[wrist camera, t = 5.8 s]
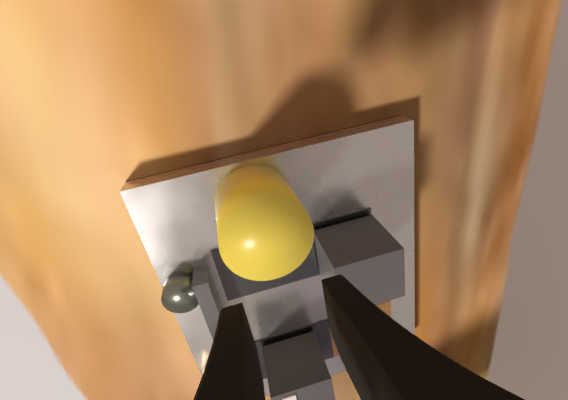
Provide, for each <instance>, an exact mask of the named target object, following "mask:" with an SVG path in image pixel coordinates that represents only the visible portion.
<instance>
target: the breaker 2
mask: <svg viewBox="0 0 568 400" xmlns="http://www.w3.org/2000/svg"><path fill="white" fill-rule="evenodd" d="M314 240H315V246H316V252H317V258H318V264H319V270H320V274H321V276H322V278H323V279H325V278H329V277H332V276H336V275H339V274H341V275H342V276H344V277H345V278H346V279H347V280H348V281H349V282H350V283H351V284H352V285H353V286H355V287H356V288H357V289H358V290H359V291H360V292H361V293H362V294H363V295H365V296H366V297H367V298H368V299H369V300H370V301H371V302H373V303H374V304H375V305H376V304H380V303H383V302H386V301H390V300H393V299H396V298H400V297H403V296H405V261H404V248H403V247H402V246H401V245H400V244H399V242H398V241H397V240H396V239H395V238H394V237H393V236H392V235H391V234H390V233H389V232H388V231H387V230H386V229H385V228H384V227H383V226H382V225H381V224H380V222H379V221H378V220H377V219H376V218H375V217H374V216H373V215H369V216H365V217H362V218H358V219H354V220H351V221H347V222H343V223H340V224H336V225H332V226H329V227H325V228H321V229H318V230H314Z"/></svg>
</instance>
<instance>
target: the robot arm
mask: <svg viewBox="0 0 568 400" xmlns="http://www.w3.org/2000/svg"><path fill="white" fill-rule="evenodd" d="M321 281H322V287H323V293H324V299H325V305H326V311H327V317H328V323H329V328H330V331H331V334H332V336H333V339H334V342H335V344H336V347H337V350H338V352H339V355H340V358H341V360H342V362H343V364H344V366H345V368H346V370H347V372H348V374H349V376H350V378H351V380H352V382H353V384H354V386H355V388H356V390H357V392H358V394H359V396H360V398H361V400H524V399H522V398H520V397H519V396H517V395H515V394H513V393H511V392H509V391H506V390H505V389H503V388H501V387H499V386H497V385H495V384H493V383H491V382H490V381H488V380H486V379H484V378H482V377H480V376H479V375H477V374H475V373H473V372H472V371H470V370H468V369H467V368H465V367H463V366H461V365H460V364H458V363H456V362H455V361H453V360H452V359H450V358H448V357H447V356H445V355H443V354H442V353H440V352H439V351H437V350H436V349H434V348H433V347H431V346H430V345H428V344H427V343H425V342H424V341H422V340H421V339H419V338H418V337H417V336H415V335H414V334H412V333H411V332H410V331H408V330H407V329H406V328H404V327H403V326H402V325H400V324H399V323H398V322H396V321H395V320H394V319H392V318H391V317H390V316H389V315H387V314H386V313H385V312H384V311H382V310H381V309H380V308H379V307H377V306H376V305H375V304H374V303H373V302H371V301H370V300H369V299H368V298H367V297H366V296H365V295H363V294H362V293H361V292H360V291H359V290H358V289H357V288H356V287H355V286H353V285H352V284H351V283H350V282H349V281H348V280H347V279H346V278H345V277H344V276H342V275H341V274H339V275H336V276H332V277H329V278H325V279H322V280H321ZM194 400H265V392H264V382H263V377H262V372H261V367H260V362H259V357H258V351H257V347H256V344H255V341H254V338H253V335H252V332H251V329H250V325H249V322H248V319H247V316H246V313H245V310H244V306H243V303H239V304H235V305H232V306H228V307H225V308H222V309H221V311H220V312H219V317H218V322H217V327H216V331H215V335H214V339H213V343H212V346H211V350H210V353H209V357H208V360H207V363H206V366H205V369H204V372H203V375H202V378H201V381H200V384H199V387H198V389H197V392H196V395H195V397H194Z"/></svg>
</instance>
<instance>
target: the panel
mask: <svg viewBox="0 0 568 400" xmlns="http://www.w3.org/2000/svg"><path fill="white" fill-rule="evenodd" d="M249 165H262V166H266V167H270V168H272V169H274V170H276V171H277V172H279V173H280V174H281V175H282V176H283V177H284V178H285V179H286V181H287V182H288V184H289V185H290V187H291V188H292V190H293V192H294V193H295V195H296V196H297V198H298V199H299V201H300V202H301V204H302V206H303V207H304V209H305V210H306V212H307V213H308V215H309V217H310V219H311V221H312V224H313V228H314V230H318V229H321V228H325V227H329V226H332V225H336V224H340V223H343V222H347V221H351V220H354V219H358V218H362V217H365V216H369V215H373V216H374V217H375V218H376V219H377V220H378V221H379V222H380V224H381V225H382V226H383V227H384V228H385V229H386V230H387V231H388V232H389V233H390V234H391V235H392V236H393V237H394V238H395V239H396V240H397V241H398V242H399V244H400V245H401V246H402V247H403V248H404V261H405V296H403V297H400V298H396V299H393V300H390V301H386V302H383V303H380V304H376V306H377V307H379V308H380V309H381V310H382V311H384V312H385V313H386V314H387V315H389V316H390V317H391V318H392V319H394V320H395V321H396V322H398V323H399V324H400V325H402V326H403V327H404V328H406V329H407V330H408V331H410V332H411V333H412V334H414V335H415V266H414V120H413V119H410V118H408V117H405V116H397V117H393V118H389V119H385V120H381V121H377V122H373V123H368V124H364V125H360V126H356V127H352V128H348V129H344V130H339V131H335V132H331V133H327V134H323V135H319V136H315V137H310V138H306V139H302V140H298V141H294V142H290V143H286V144H282V145H277V146H273V147H269V148H265V149H261V150H257V151H253V152H248V153H244V154H240V155H236V156H232V157H228V158H224V159H219V160H215V161H211V162H207V163H203V164H199V165H195V166H191V167H186V168H182V169H178V170H174V171H170V172H166V173H162V174H157V175H153V176H149V177H145V178H141V179H137V180H133V181H128V182H125V183H124V185H123V187H122V189H121V190H120V194H121V196H122V198H123V200H124V203H125V205H126V207H127V209H128V211H129V214H130V216H131V218H132V220H133V223H134V225H135V227H136V229H137V231H138V234H139V236H140V238H141V240H142V243H143V245H144V247H145V249H146V252H147V254H148V256H149V258H150V260H151V263H152V265H153V267H154V269H155V272H156V274H157V276H158V278H159V280H160V283H161V285H162V287H163V292H162V298H161V301H162V304H163V306H164V307H165V308H166V309H167V310H169V311H171V312H174V314H175V316H176V318H177V321H178V323H179V325H180V327H181V329H182V332H183V334H184V336H185V338H186V341H187V343H188V345H189V347H190V349H191V352H192V354H193V356H194V358H195V361H196V363H197V365H198V367H199V369H200V372H201V374H202V375H203V372H204V369H205V366H206V363H207V360H208V357H209V353H210V350H211V346H212V343H213V339H214V335H215V331H216V327H217V322H218V317H219V312H220V311H221V309H222V308H225V307H228V306H232V305H235V304H239V303H243V306H244V310H245V313H246V316H247V319H248V322H249V325H250V329H251V332H252V335H253V338H254V341H255V344H256V347H257V351H258V357H259V362H260V367H261V372H262V377H263V382H264V392H265V396H268V395H270V391H269V385H268V380H267V374H266V369H265V363H264V358H263V352H262V346H266V345H269V344H272V343H276V342H279V341H282V340H285V339H289V338H292V337H295V336H299V335H302V334H305V333H308V332H312V331H314V333H315V336H316V339H317V341H318V344H319V347H320V349H321V352H322V355H323V357H324V360H325V363H326V365H327V368H328V371H329V374H330V376H331V375H334V374H337V373H340V372H343V371H346V368H345V366H344V364H343V362H342V360H341V358H340V355H339V352H338V350H337V347H336V344H335V342H334V339H333V336H332V334H331V331H330V328H329V323H328V317H327V311H326V305H325V299H324V293H323V287H322V281H321V280H322V279H323V278H322V276H321V274H320V270H319V264H318V258H317V252H316V246H315V240H314V241H313V245H312V248H311V250H310V253H309V254H308V256H307V258H306V259H305V260H304V262H303V263H302V264H301V265H300V266H299V267H298V268H296V269H295V270H294V271H292V272H291V273H289V274H287V275H285V276H283V277H280V278H277V279H274V280H269V281H254V280H249V279H245V278H243V277H240V276H238V275H237V274H235V273H234V272H232V271H231V270H230V269H229V268H228V267H227V266H226V264H225V263H224V262H223V260H222V258H221V255H220V252H219V246H218V235H217V223H216V212H215V196H216V192H217V190H218V187H219V185H220V184H221V182H222V181H223V180H224V179H225V178H226V177H227V176H228V175H229V174H230V173H232V172H233V171H235V170H237V169H239V168H241V167H244V166H249Z"/></svg>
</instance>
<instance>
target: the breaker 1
mask: <svg viewBox="0 0 568 400" xmlns="http://www.w3.org/2000/svg"><path fill="white" fill-rule="evenodd" d="M262 352H263V358H264V363H265V369H266V374H267V380H268V385H269V391H270V396H271V400H335V396H334V391H333V385H332V380H331V376H330V374H329V371H328V368H327V365H326V363H325V360H324V357H323V355H322V352H321V349H320V347H319V344H318V341H317V339H316V336H315V333H314V331H312V332H308V333H305V334H302V335H299V336H295V337H292V338H289V339H285V340H282V341H279V342H276V343H272V344H269V345H266V346H262Z"/></svg>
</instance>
